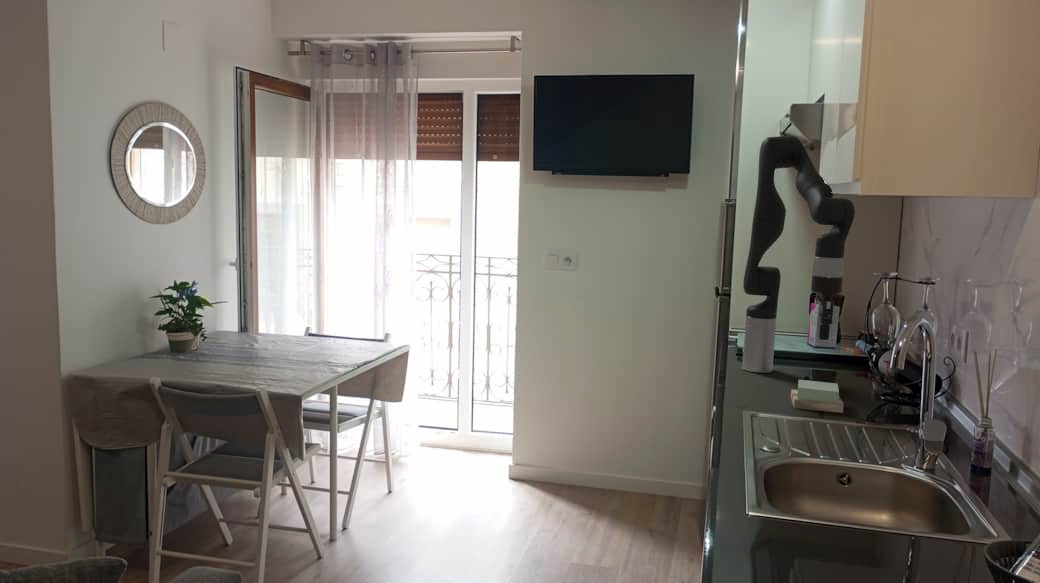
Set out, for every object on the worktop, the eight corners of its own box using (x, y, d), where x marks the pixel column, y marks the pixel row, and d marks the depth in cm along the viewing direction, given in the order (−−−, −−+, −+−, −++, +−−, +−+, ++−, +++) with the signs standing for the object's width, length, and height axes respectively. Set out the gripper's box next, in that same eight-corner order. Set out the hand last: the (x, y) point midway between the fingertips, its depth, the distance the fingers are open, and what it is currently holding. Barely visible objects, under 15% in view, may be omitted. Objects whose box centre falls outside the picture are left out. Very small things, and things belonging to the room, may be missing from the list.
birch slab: (790, 399, 216) (791, 389, 216) (836, 403, 213) (837, 393, 213) (793, 410, 204) (794, 399, 204) (842, 415, 201) (843, 404, 201)
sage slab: (797, 390, 214) (798, 379, 214) (836, 394, 211) (837, 383, 211) (797, 398, 205) (797, 387, 205) (837, 403, 202) (838, 392, 201)
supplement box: (836, 349, 204) (840, 306, 202) (813, 348, 204) (817, 305, 202) (828, 345, 209) (832, 303, 208) (806, 344, 210) (809, 302, 208)
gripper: (809, 271, 212) (804, 331, 214) (815, 276, 198) (810, 340, 200) (839, 273, 210) (833, 333, 212) (846, 278, 196) (841, 343, 198)
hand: (822, 336), depth 206 cm, fingers closed on supplement box, 6 cm apart
